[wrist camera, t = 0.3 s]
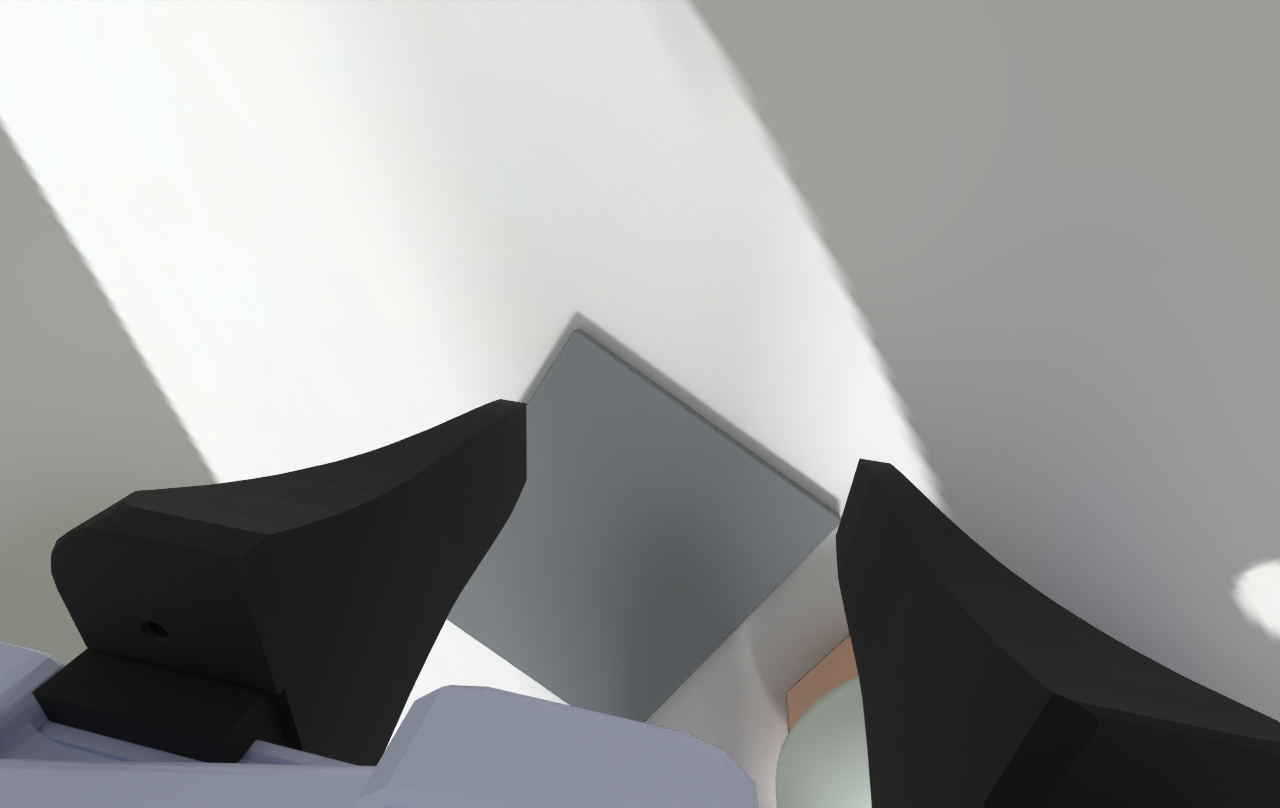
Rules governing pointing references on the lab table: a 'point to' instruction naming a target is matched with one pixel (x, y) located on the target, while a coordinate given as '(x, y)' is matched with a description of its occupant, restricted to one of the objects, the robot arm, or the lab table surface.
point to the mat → (630, 540)
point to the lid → (826, 754)
